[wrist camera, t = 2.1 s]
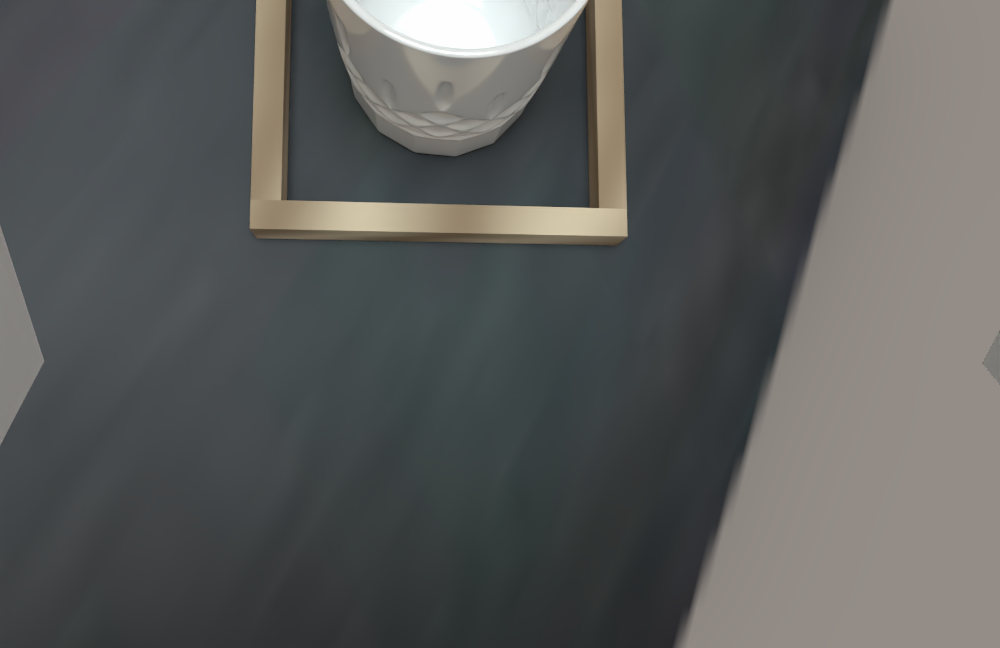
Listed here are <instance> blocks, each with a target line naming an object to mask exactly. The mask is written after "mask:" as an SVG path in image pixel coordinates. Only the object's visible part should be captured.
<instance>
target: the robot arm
mask: <svg viewBox="0 0 1000 648" xmlns="http://www.w3.org/2000/svg"><path fill="white" fill-rule="evenodd" d="M43 363H44V359H43V356H42V353H41V350H40V347H39V344H38V341H37V337H36V334H35V331H34V328H33V325H32V322H31V319H30V316H29V313H28V310H27V307H26V304H25V300H24V297H23V294H22V291H21V288H20V285H19V282H18V279H17V276H16V273H15V270H14V267H13V263H12V260H11V257H10V254H9V251H8V248H7V245H6V242H5V239H4V236H3V233H2V230H1V226H0V445H1V443H2V441H3V439H4V437H5V435H6V433H7V431H8V429H9V427H10V426H11V424H12V422H13V420H14V418H15V416H16V414H17V412H18V410H19V408H20V406H21V405H22V403H23V401H24V399H25V397H26V395H27V393H28V391H29V389H30V387H31V385H32V384H33V382H34V380H35V378H36V376H37V374H38V372H39V370H40V368H41V366H42V365H43ZM983 365H984V366H985V367H986V368H987V370H988V371H989V372H990V373H991V374H992V376H993V377H994V378H995V379H996V380H997V382H998V383H999V384H1000V331H999V334H998V335H997V337H996V339H995V340H994V342H993V344H992V346H991V348H990V350H989V352H988V353H987V355H986V357H985V359H984V361H983Z"/></svg>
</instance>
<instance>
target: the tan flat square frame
mask: <svg viewBox="0 0 1000 648" xmlns="http://www.w3.org/2000/svg"><path fill="white" fill-rule="evenodd" d="M291 6H292V0H256V32H255V66H254V101H253V135H252V170H251V205H250V230H251V231H252V232H253V234H254V235H255V236H256V238H266V239H317V240H368V241H419V242H470V243H521V244H572V245H618V244H619V243H620V242H621V241H623V240H624V239H625V238H626V237H627V200H626V159H625V118H624V78H623V37H622V0H588V2H587V4H586V54H587V106H588V158H589V208H571V207H531V206H490V205H450V204H410V203H370V202H330V201H290V200H287V174H288V132H289V90H290V48H291Z"/></svg>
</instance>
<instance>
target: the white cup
mask: <svg viewBox="0 0 1000 648" xmlns="http://www.w3.org/2000/svg"><path fill="white" fill-rule="evenodd" d="M587 2H588V0H326V4H327V8H328V12H329V16H330V20H331V24H332V28H333V31H334V34H335V37H336V40H337V43H338V47H339V50H340V53H341V57H342V60H343V62H344V65H345V67H346V69H347V71H348V74H349V76H350V79H351V84H352V88H353V93H354V96H355V98H356V100H357V101H358V103H359V104H360V106H361V107H362V108H363V110H364V111H365V113H366V114H367V116H368V117H369V119H370V120H371V122H372V123H373V124H374V126H375V127H376V129H377V130H378V131H379V132H380V133H382V134H384V135H385V136H387V137H389V138H391V139H392V140H394V141H396V142H397V143H399V144H401V145H402V146H404V147H406V148H408V149H409V150H411V151H413V152H415V153H424V154H434V155H444V156H454V157H456V156H459V155H462V154H465V153H467V152H470V151H473V150H476V149H479V148H482V147H484V146H487V145H490V144H493V143H494V142H495V141H496V140H497V139H498V138H499V137H500V136H501V135H502V134H503V133H504V132H505V131H506V130H507V129H508V128H509V127H510V126H511V125H512V124H513V123H514V122H515V121H516V120H517V119H518V118H519V117H520V116H521V114H522V113H523V111H524V109H525V107H526V105H527V103H528V102H529V100H530V99H531V98H532V96H533V95H534V94H535V92H536V91H537V89H538V88H539V86H540V85H541V83H542V82H543V80H544V78H545V76H546V74H547V73H548V71H549V70H550V68H551V67H552V65H553V64H554V62H555V60H556V59H557V57H558V55H559V53H560V51H561V49H562V48H563V46H564V44H565V42H566V40H567V38H568V37H569V35H570V33H571V31H572V29H573V27H574V26H575V24H576V22H577V20H578V18H579V16H580V15H581V13H582V11H583V9H584V7H585V6H586V4H587Z"/></svg>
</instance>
